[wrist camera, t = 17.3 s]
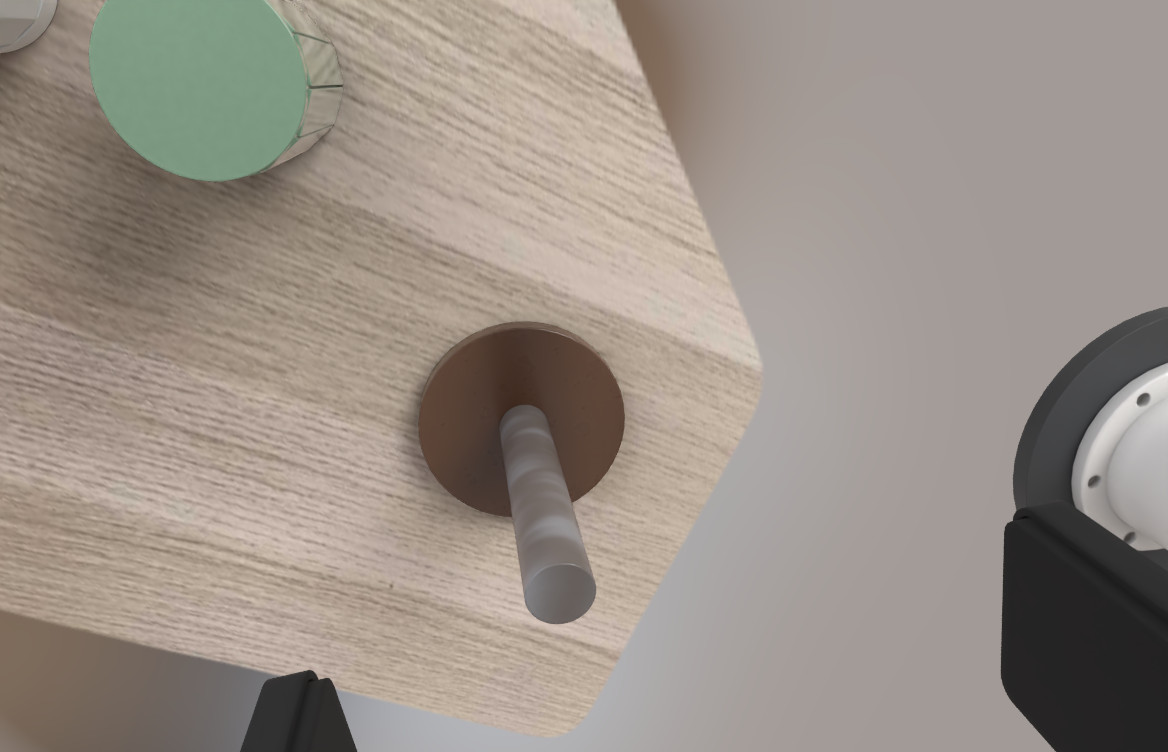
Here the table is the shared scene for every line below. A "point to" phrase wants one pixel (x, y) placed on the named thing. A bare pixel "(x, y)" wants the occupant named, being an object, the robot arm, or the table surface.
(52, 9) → the cup
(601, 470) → the towel stand
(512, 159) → the table surface
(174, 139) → the green cup
